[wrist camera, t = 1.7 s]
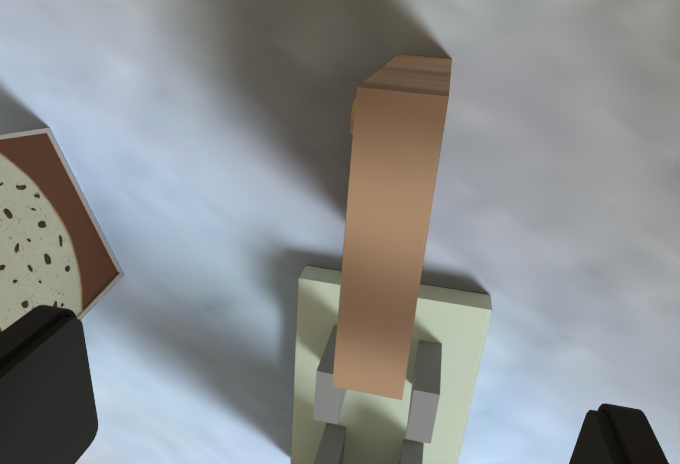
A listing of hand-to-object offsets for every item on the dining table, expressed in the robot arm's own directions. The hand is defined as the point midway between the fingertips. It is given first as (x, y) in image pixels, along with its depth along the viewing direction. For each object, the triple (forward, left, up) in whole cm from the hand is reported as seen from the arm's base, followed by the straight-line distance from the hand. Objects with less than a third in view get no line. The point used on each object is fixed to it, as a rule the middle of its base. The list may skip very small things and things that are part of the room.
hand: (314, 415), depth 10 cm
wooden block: (0, 0, -18) cm, 18 cm away
